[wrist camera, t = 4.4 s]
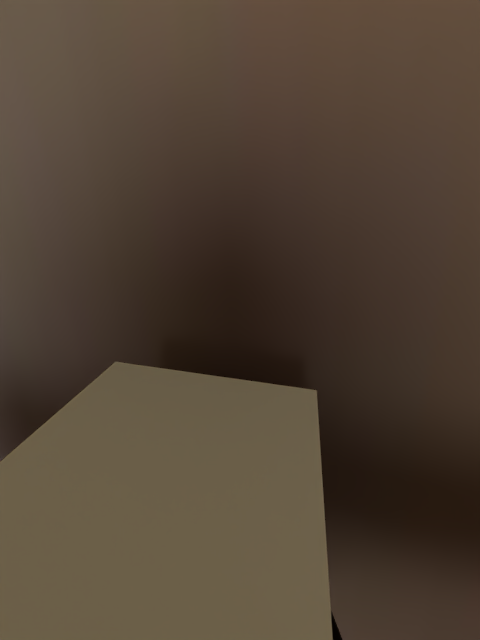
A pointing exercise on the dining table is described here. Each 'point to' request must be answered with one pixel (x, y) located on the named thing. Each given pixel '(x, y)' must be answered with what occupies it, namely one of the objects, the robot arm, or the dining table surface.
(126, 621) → the block
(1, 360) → the dining table surface
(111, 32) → the dining table surface
